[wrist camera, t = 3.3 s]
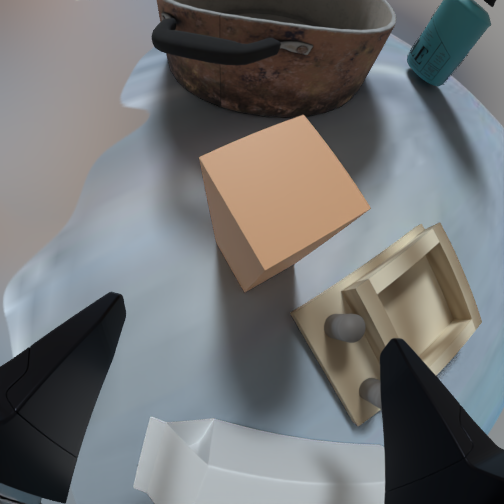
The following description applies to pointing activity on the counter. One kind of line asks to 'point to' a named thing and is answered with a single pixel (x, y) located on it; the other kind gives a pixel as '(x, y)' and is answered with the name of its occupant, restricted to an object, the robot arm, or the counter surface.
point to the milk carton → (254, 467)
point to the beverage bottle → (448, 39)
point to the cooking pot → (273, 51)
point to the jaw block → (277, 198)
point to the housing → (390, 316)
